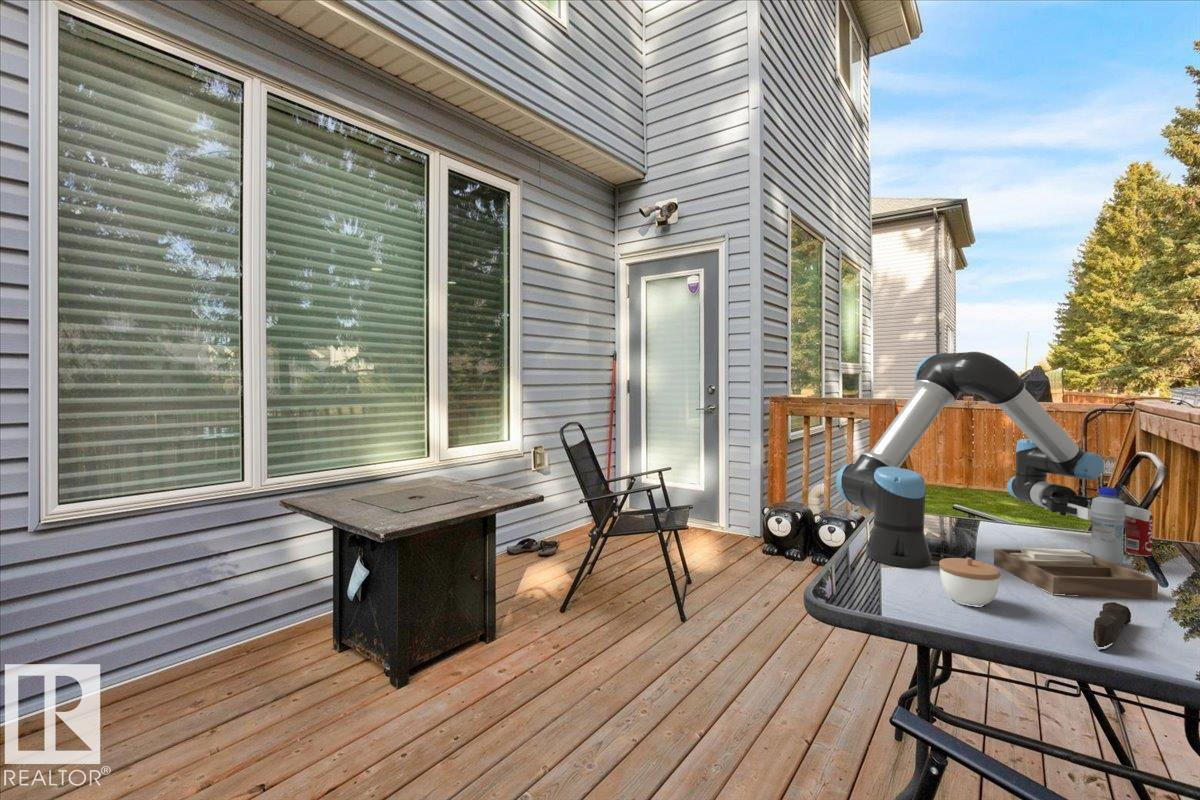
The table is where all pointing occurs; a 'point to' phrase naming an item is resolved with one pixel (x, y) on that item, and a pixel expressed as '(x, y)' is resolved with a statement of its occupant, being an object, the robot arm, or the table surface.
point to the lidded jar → (969, 580)
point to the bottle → (1107, 526)
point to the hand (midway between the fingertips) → (1118, 515)
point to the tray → (1080, 577)
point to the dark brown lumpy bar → (1110, 623)
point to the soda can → (1139, 536)
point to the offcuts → (1054, 557)
